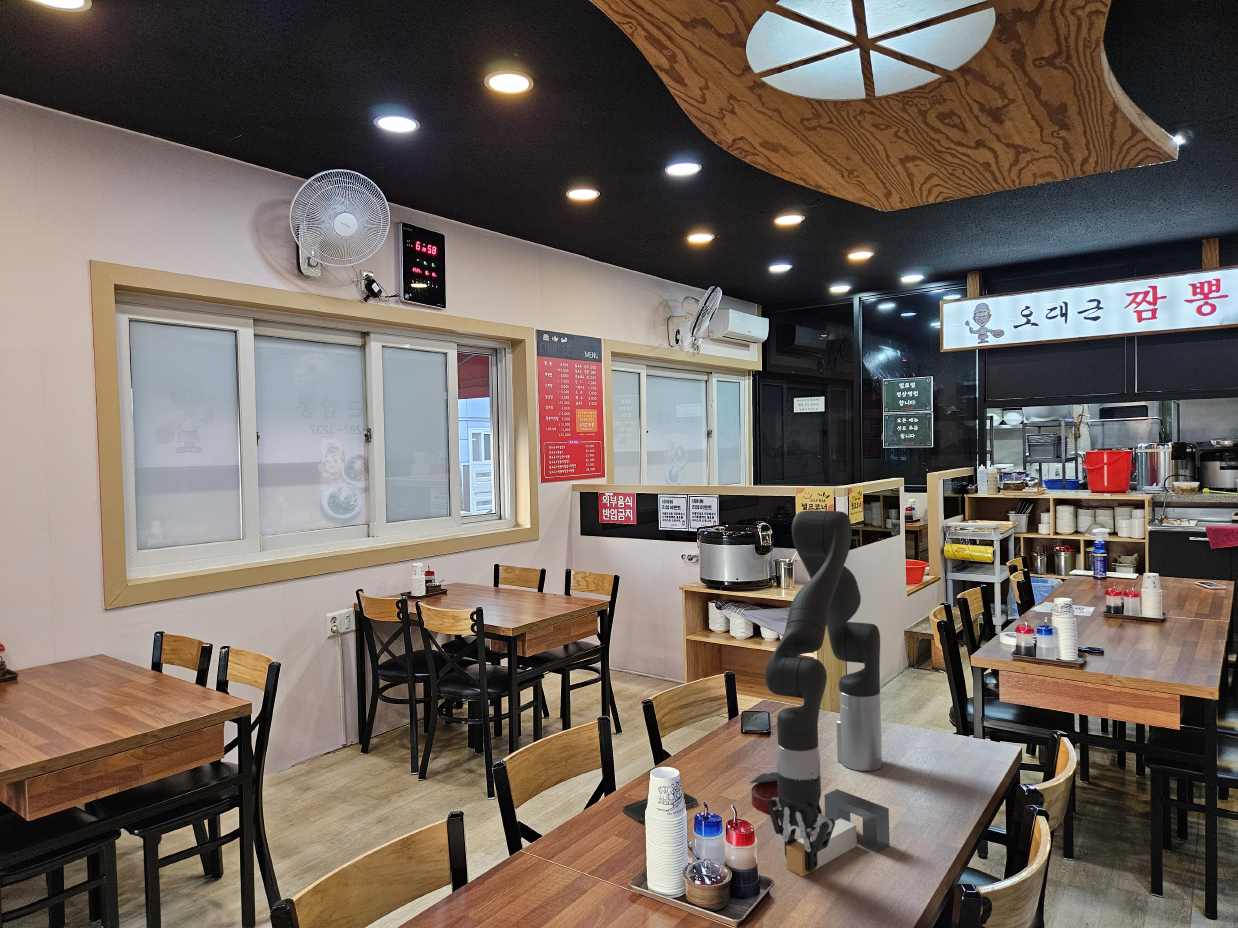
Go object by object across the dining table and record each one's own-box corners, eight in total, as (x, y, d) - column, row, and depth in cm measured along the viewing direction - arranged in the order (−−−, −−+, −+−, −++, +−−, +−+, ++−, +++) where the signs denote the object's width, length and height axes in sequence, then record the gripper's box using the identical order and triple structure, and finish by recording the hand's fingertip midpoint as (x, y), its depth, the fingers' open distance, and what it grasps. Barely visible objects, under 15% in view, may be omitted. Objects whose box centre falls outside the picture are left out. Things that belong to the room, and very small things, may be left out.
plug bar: (786, 868, 140) (786, 846, 140) (840, 838, 150) (840, 818, 150) (802, 876, 137) (802, 853, 137) (856, 845, 147) (856, 824, 147)
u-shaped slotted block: (825, 830, 154) (824, 794, 154) (837, 823, 156) (836, 788, 156) (877, 852, 145) (876, 814, 145) (889, 845, 147) (888, 808, 147)
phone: (620, 807, 165) (676, 788, 173) (620, 812, 165) (676, 793, 173) (642, 821, 158) (699, 800, 167) (642, 826, 158) (700, 805, 167)
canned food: (754, 830, 164) (731, 785, 166) (775, 807, 172) (753, 764, 174) (797, 819, 158) (772, 772, 160) (817, 795, 166) (793, 751, 168)
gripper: (754, 763, 143) (756, 857, 143) (818, 787, 132) (821, 889, 132) (780, 752, 148) (783, 843, 148) (845, 774, 137) (847, 873, 137)
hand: (801, 864), depth 140 cm, fingers closed on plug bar, 3 cm apart
